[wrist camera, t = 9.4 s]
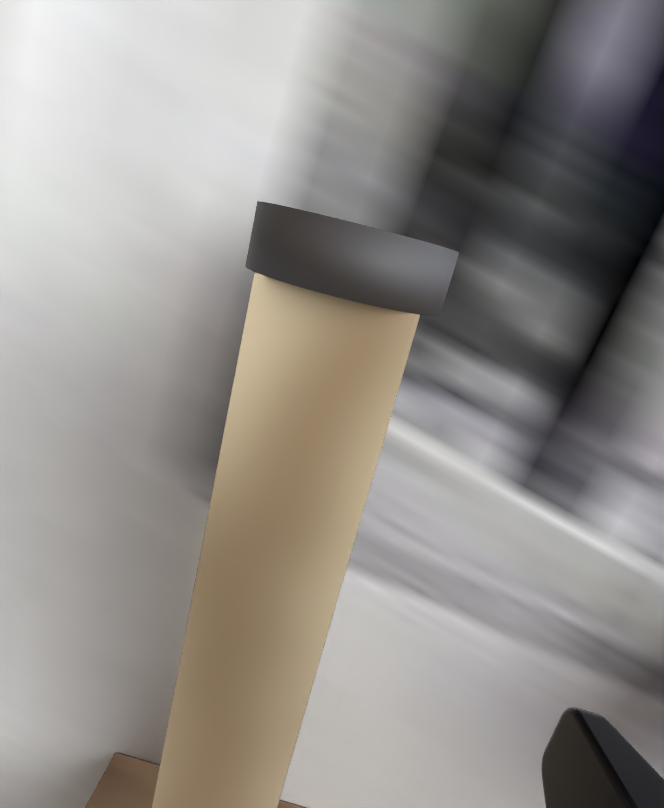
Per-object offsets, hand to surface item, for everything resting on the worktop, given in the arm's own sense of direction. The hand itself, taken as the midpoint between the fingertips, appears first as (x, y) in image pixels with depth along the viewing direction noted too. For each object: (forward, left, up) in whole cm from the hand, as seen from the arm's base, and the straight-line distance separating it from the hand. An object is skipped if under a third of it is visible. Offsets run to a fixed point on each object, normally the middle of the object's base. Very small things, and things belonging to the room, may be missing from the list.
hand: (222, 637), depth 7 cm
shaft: (0, +6, -7) cm, 10 cm away
